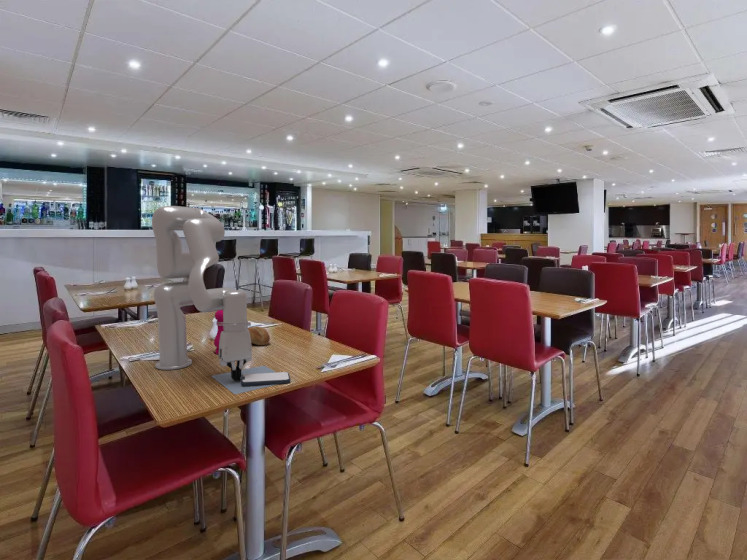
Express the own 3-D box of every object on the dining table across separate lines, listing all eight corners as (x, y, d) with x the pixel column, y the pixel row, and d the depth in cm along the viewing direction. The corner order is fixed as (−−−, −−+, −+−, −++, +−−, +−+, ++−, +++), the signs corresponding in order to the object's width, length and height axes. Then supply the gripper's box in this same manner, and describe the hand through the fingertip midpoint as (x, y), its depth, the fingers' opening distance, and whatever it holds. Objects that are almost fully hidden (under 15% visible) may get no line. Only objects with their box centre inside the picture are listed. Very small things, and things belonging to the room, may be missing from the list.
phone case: (288, 375, 151) (241, 378, 146) (288, 371, 151) (241, 374, 146) (290, 384, 142) (240, 387, 138) (290, 379, 142) (240, 382, 138)
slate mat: (211, 376, 149) (211, 375, 149) (264, 365, 162) (264, 365, 162) (234, 394, 132) (234, 394, 132) (291, 381, 145) (291, 381, 145)
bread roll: (257, 348, 186) (257, 331, 185) (237, 343, 195) (236, 326, 194) (275, 344, 193) (274, 327, 193) (254, 339, 202) (254, 323, 202)
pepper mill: (234, 353, 178) (233, 306, 176) (217, 355, 174) (215, 307, 172) (229, 349, 184) (227, 304, 182) (212, 352, 179) (210, 305, 177)
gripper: (252, 322, 149) (252, 372, 151) (209, 327, 140) (210, 381, 142) (261, 326, 144) (261, 378, 145) (216, 332, 134) (218, 387, 136)
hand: (236, 379), depth 144 cm, fingers closed
